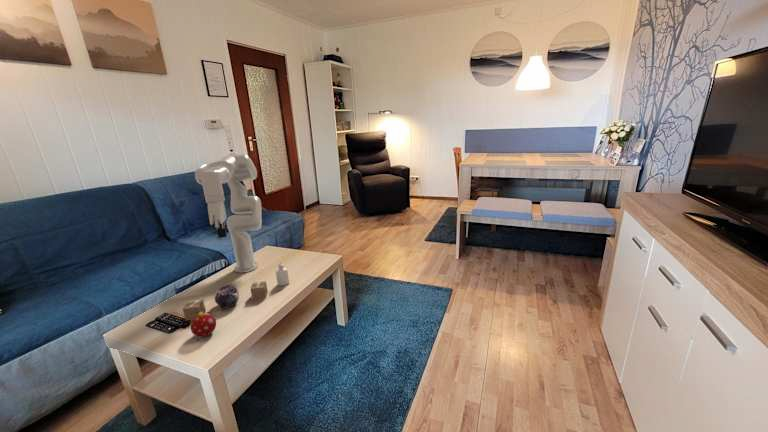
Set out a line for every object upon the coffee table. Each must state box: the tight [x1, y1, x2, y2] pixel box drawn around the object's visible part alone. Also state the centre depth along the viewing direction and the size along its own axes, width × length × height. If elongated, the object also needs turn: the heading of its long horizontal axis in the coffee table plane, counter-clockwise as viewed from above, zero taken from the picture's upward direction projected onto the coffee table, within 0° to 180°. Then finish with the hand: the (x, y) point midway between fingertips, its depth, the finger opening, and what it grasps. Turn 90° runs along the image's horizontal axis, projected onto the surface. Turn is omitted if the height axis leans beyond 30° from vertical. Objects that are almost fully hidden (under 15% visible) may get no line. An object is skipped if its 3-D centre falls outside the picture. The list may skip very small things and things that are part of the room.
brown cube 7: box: [182, 298, 207, 322], centre depth 133 cm, size 6×6×6 cm
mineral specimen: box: [214, 283, 240, 310], centre depth 140 cm, size 10×10×10 cm
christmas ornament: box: [190, 312, 217, 338], centre depth 120 cm, size 9×9×10 cm
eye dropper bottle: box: [275, 261, 290, 287], centre depth 156 cm, size 4×6×12 cm
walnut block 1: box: [250, 280, 268, 301], centre depth 147 cm, size 6×6×6 cm
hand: (222, 236), depth 143 cm, fingers closed
